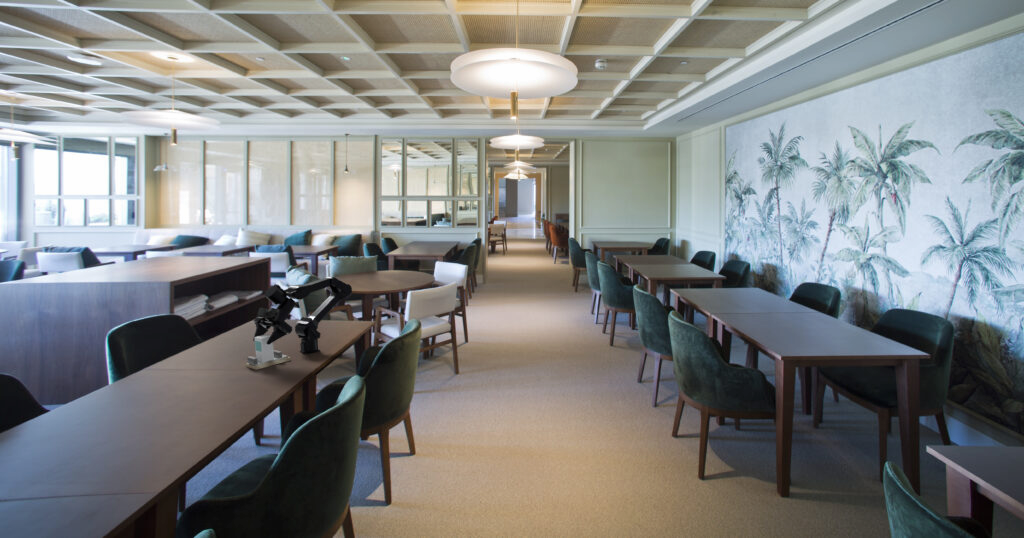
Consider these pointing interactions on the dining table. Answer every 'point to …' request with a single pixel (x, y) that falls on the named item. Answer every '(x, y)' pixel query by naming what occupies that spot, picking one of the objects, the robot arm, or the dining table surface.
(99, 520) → the dining table surface
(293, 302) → the robot arm
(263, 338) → the block
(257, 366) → the rail board
